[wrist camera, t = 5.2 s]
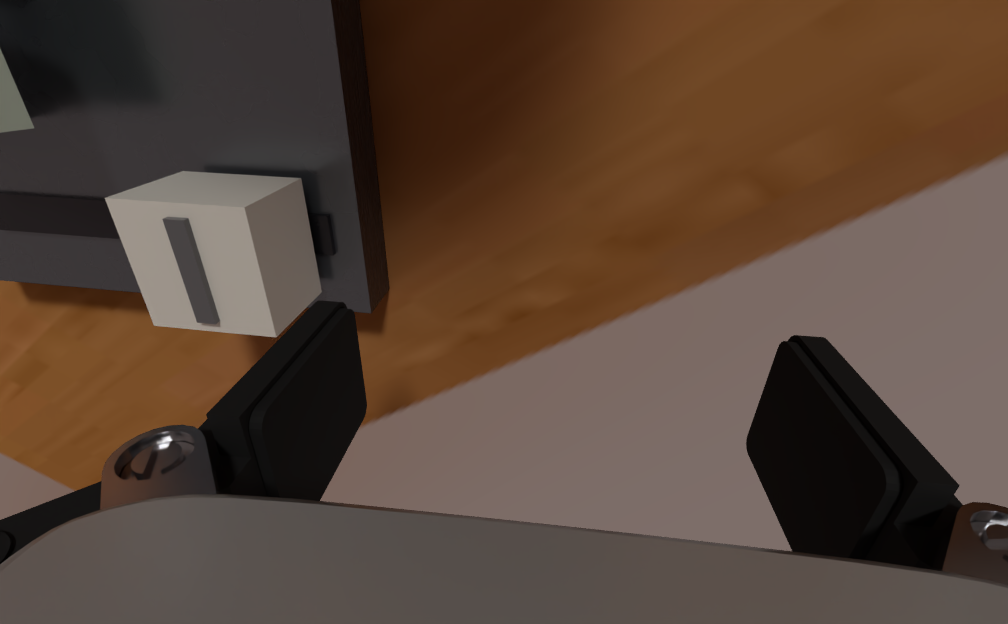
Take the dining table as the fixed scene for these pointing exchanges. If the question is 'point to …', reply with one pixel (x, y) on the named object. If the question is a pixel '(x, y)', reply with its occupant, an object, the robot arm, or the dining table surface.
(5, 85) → the sage rocker
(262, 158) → the panel
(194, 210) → the ivory slider
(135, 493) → the robot arm
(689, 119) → the dining table surface
